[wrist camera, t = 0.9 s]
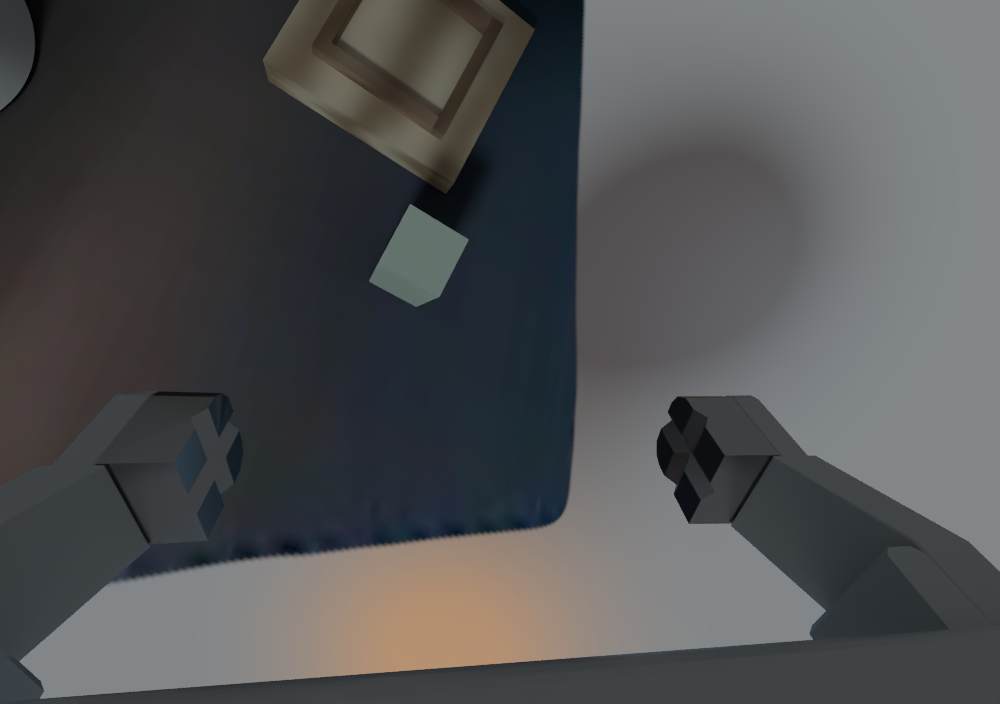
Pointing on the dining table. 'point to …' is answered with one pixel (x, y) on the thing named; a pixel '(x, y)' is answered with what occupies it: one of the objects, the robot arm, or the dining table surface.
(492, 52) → the plinth
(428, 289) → the sage block
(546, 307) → the dining table surface
